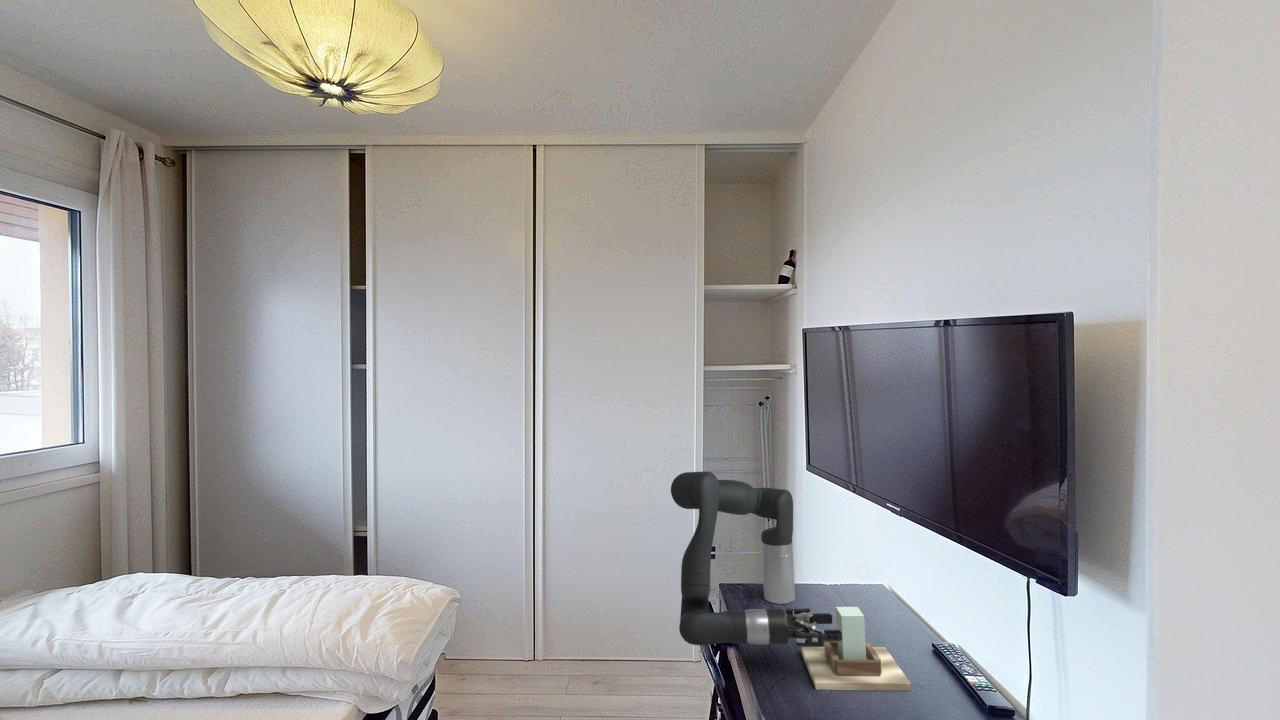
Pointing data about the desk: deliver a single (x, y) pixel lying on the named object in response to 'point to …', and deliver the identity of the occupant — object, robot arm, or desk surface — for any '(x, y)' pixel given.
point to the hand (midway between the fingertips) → (836, 626)
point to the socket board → (854, 669)
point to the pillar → (851, 633)
